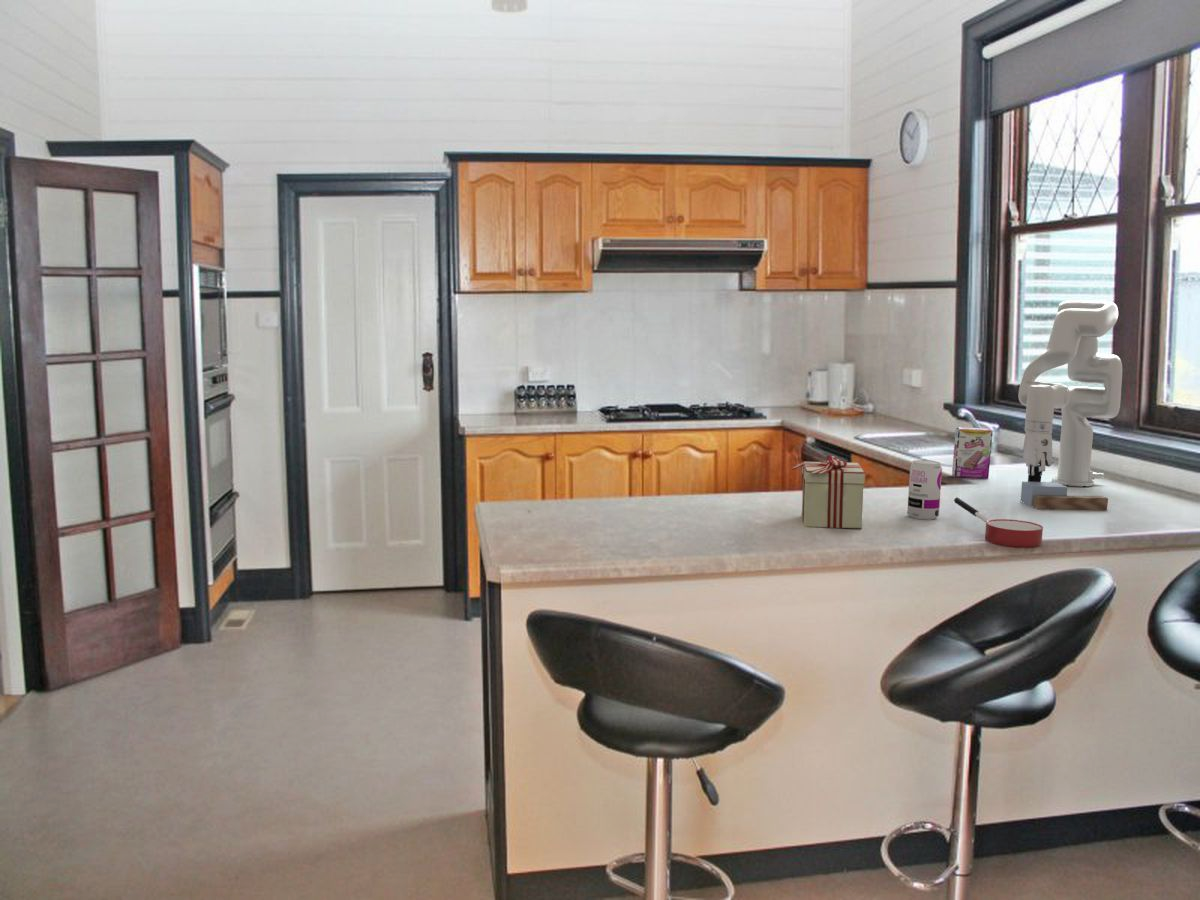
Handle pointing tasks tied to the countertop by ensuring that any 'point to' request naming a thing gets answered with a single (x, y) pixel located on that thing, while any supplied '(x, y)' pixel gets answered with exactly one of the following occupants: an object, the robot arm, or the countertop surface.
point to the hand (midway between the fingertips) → (1033, 488)
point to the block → (1040, 490)
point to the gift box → (832, 494)
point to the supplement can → (924, 489)
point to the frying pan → (1008, 530)
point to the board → (1070, 502)
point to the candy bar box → (972, 453)
